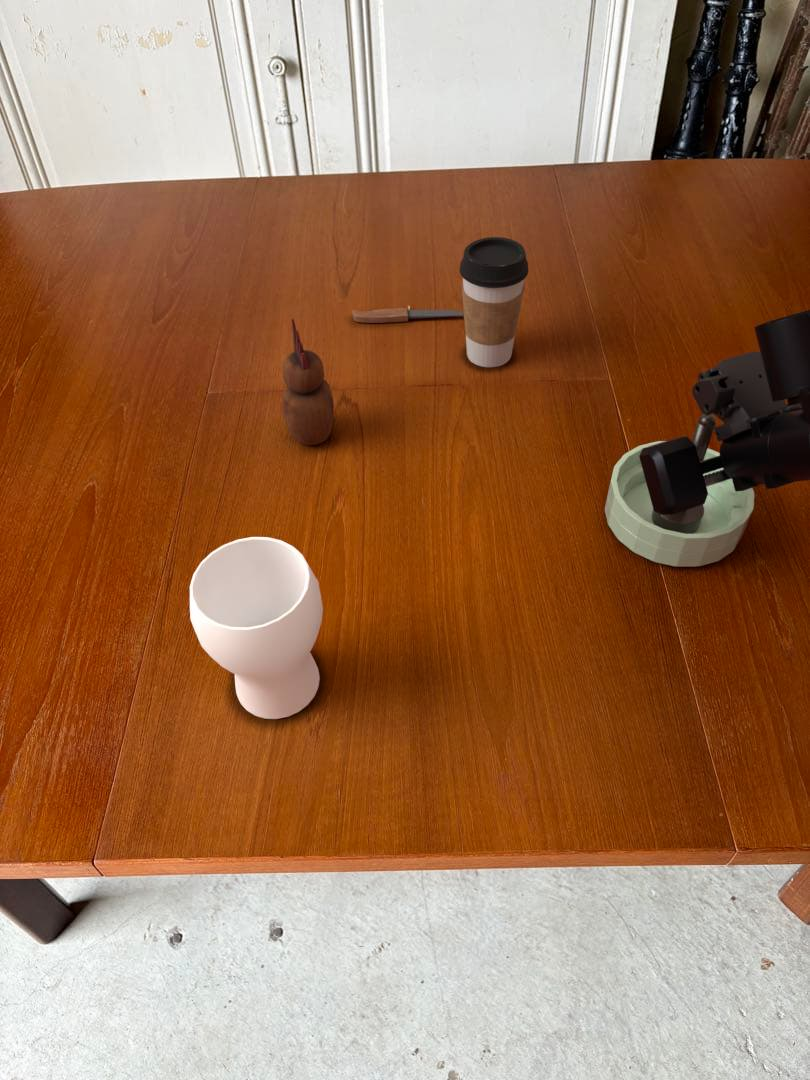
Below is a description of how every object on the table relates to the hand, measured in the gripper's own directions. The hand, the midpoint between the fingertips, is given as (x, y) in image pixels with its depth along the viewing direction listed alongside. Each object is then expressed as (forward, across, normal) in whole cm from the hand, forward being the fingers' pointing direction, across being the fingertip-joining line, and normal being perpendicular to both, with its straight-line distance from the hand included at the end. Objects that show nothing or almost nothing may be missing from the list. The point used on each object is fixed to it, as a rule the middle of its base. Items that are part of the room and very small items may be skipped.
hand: (688, 461), depth 81 cm
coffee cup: (+31, +5, -19) cm, 36 cm away
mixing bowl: (+6, 0, +6) cm, 8 cm away
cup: (+4, +45, +8) cm, 46 cm away
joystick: (+5, 0, +6) cm, 8 cm away
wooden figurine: (+26, +32, -14) cm, 43 cm away
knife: (+39, +11, -28) cm, 49 cm away
